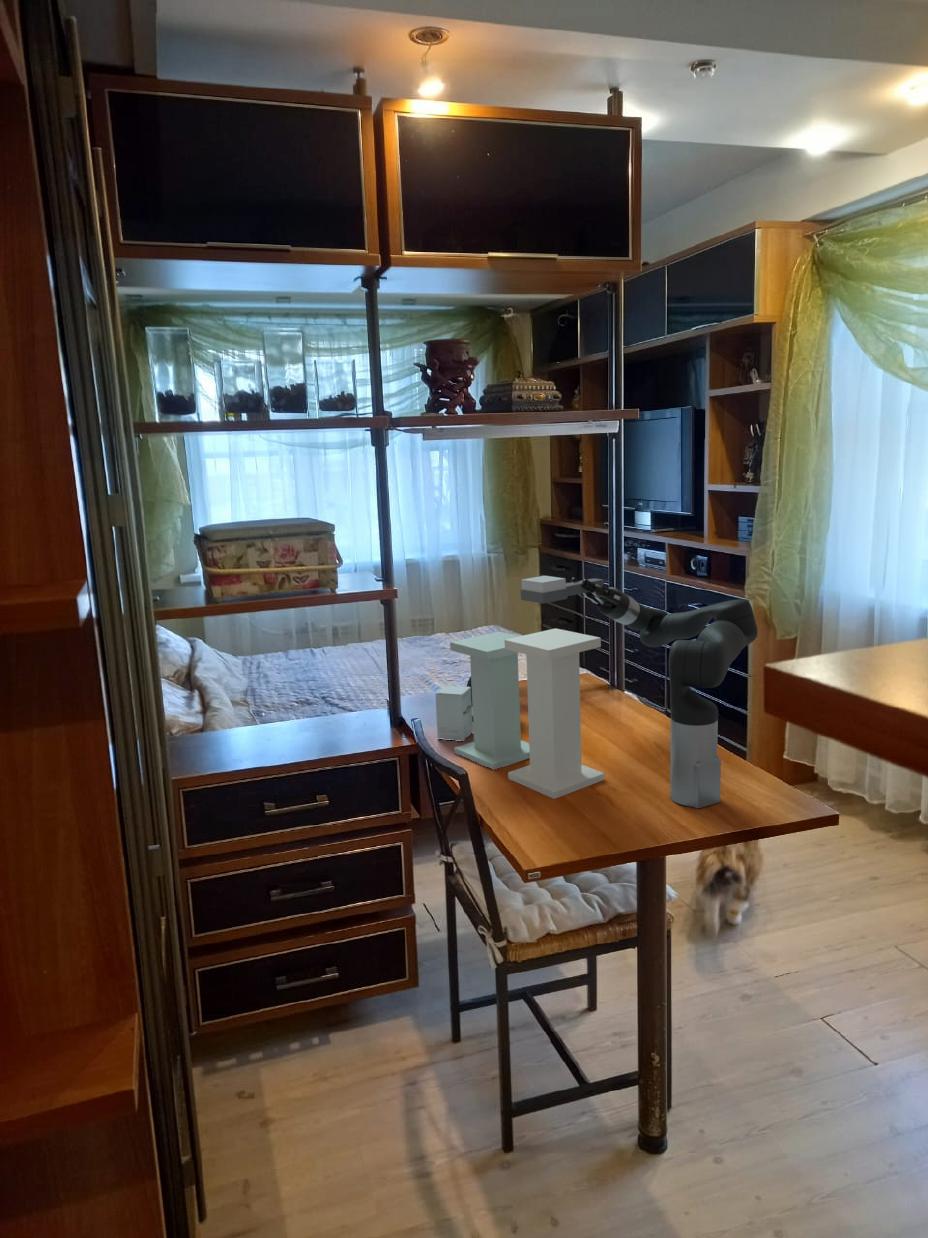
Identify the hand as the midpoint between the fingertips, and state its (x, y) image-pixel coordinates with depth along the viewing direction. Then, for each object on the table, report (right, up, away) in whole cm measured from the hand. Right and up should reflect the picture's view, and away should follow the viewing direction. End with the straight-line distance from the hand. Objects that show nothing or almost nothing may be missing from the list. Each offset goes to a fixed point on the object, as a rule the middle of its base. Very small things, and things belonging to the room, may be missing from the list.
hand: (577, 582), depth 213 cm
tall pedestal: (-8, -45, -26) cm, 52 cm away
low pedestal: (-20, -42, -9) cm, 47 cm away
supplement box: (-31, -40, +5) cm, 51 cm away
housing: (-3, -3, -2) cm, 5 cm away
